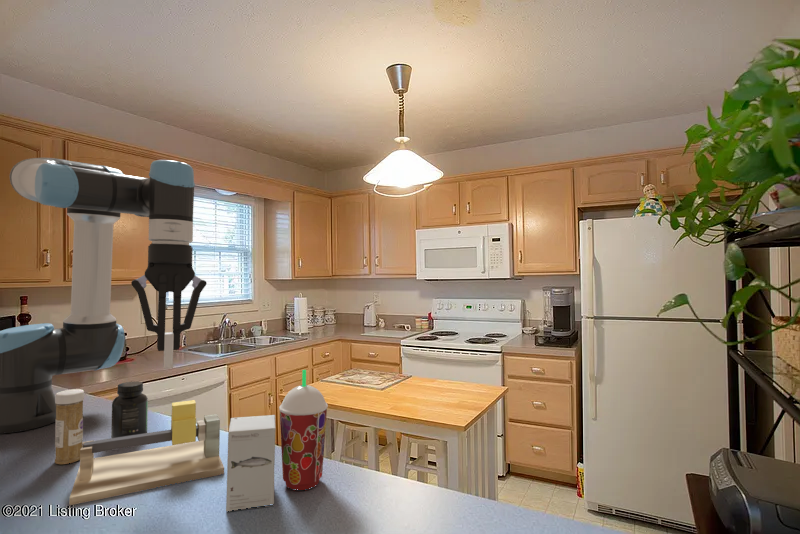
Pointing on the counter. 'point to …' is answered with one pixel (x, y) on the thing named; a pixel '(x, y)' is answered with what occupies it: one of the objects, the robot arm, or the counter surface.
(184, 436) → the sleeve
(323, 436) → the smoothie
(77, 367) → the robot arm
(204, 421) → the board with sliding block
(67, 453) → the sprinkles bottle
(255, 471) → the supplement box
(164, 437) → the gray square bar
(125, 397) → the supplement bottle
